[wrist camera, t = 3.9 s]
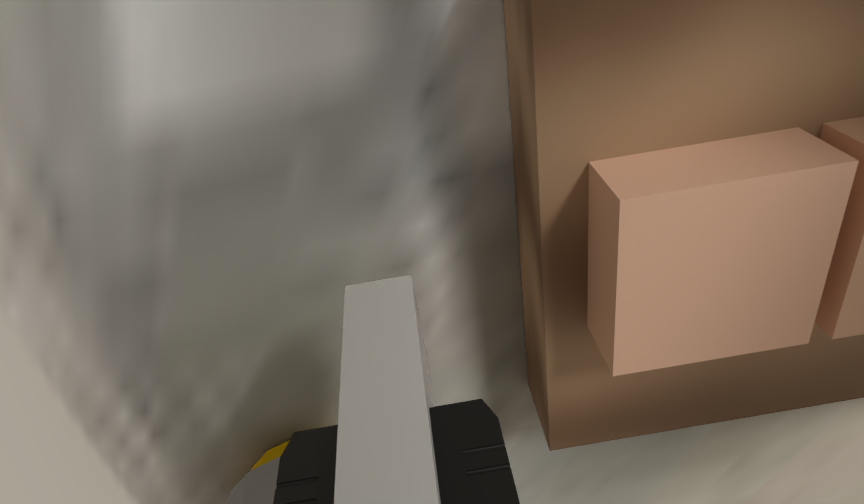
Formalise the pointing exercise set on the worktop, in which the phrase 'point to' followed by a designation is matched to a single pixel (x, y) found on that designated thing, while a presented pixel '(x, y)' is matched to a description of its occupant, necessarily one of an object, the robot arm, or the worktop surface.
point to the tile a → (712, 247)
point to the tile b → (846, 242)
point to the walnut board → (651, 131)
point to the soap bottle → (259, 480)
